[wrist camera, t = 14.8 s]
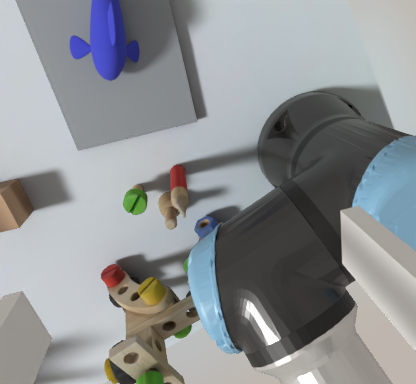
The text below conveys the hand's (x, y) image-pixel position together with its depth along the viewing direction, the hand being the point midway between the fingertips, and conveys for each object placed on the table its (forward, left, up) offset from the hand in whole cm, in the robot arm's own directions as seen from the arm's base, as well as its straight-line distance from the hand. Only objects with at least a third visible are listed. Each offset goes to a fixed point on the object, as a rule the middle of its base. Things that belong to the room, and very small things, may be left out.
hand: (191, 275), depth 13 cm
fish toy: (+4, -14, -31) cm, 34 cm away
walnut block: (+25, +5, -32) cm, 41 cm away
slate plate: (+5, -9, -32) cm, 33 cm away
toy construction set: (+5, +19, -32) cm, 38 cm away
